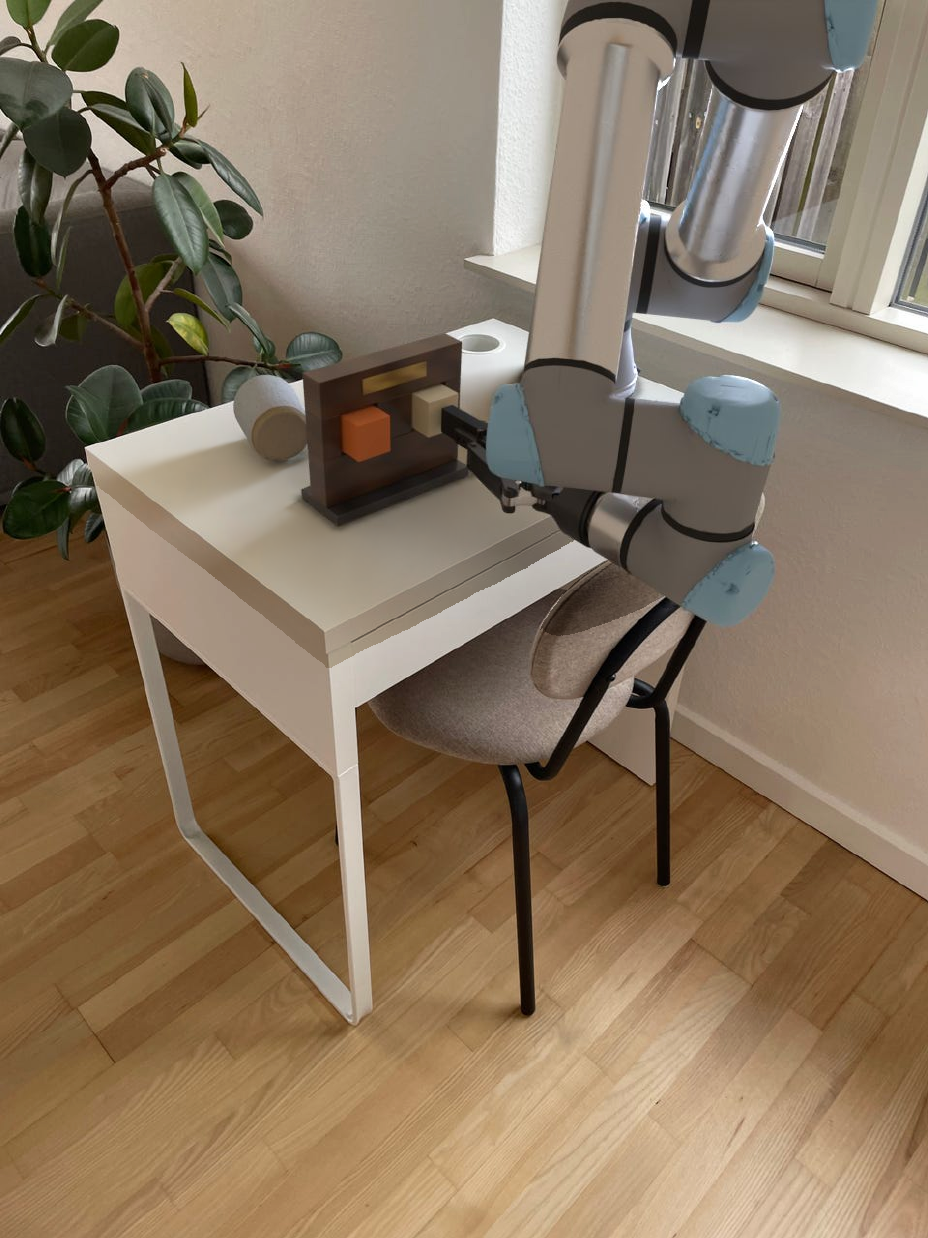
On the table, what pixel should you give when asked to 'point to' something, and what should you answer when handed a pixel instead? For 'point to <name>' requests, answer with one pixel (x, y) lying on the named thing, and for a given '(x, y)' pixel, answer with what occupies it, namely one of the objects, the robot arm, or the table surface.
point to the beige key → (430, 408)
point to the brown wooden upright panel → (413, 456)
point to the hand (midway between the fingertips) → (446, 418)
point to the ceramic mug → (271, 417)
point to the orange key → (365, 432)
